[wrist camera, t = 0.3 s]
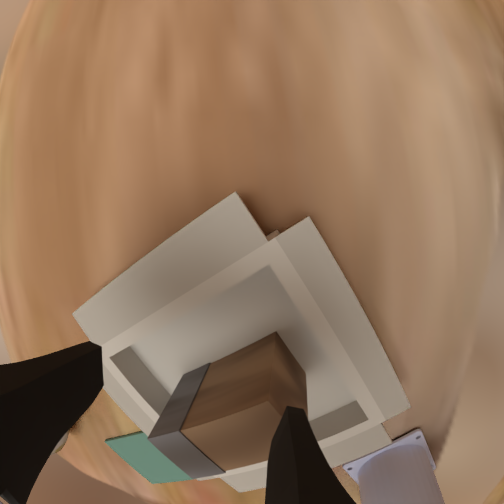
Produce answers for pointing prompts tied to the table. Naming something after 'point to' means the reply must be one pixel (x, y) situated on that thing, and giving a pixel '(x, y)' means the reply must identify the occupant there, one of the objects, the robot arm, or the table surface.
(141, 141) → the table surface
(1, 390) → the robot arm
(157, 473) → the mat
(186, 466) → the box
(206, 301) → the off-white shallow square tray
